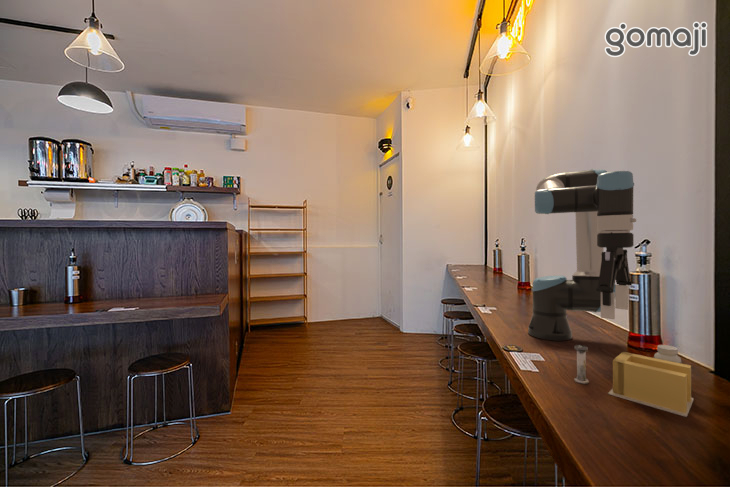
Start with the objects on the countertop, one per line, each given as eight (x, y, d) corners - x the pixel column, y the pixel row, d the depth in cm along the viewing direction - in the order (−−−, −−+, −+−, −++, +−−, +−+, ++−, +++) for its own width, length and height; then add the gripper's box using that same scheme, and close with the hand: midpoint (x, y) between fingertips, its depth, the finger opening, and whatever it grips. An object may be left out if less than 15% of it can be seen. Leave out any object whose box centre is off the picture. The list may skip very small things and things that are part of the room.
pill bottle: (655, 377, 91) (654, 342, 91) (681, 382, 87) (681, 346, 87) (653, 383, 87) (653, 347, 87) (681, 389, 83) (680, 352, 83)
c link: (612, 392, 82) (612, 360, 82) (622, 381, 88) (622, 351, 88) (685, 413, 72) (685, 377, 72) (691, 399, 78) (691, 365, 78)
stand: (576, 377, 91) (576, 343, 91) (590, 381, 89) (590, 346, 89) (572, 381, 89) (572, 346, 89) (586, 385, 87) (586, 349, 86)
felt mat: (620, 380, 89) (620, 379, 89) (693, 399, 78) (693, 398, 78) (608, 394, 82) (608, 392, 82) (686, 417, 71) (686, 415, 71)
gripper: (620, 232, 74) (620, 325, 75) (643, 230, 90) (643, 307, 91) (582, 233, 80) (582, 319, 81) (610, 231, 96) (610, 303, 97)
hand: (615, 313), depth 86 cm, fingers open, 13 cm apart
